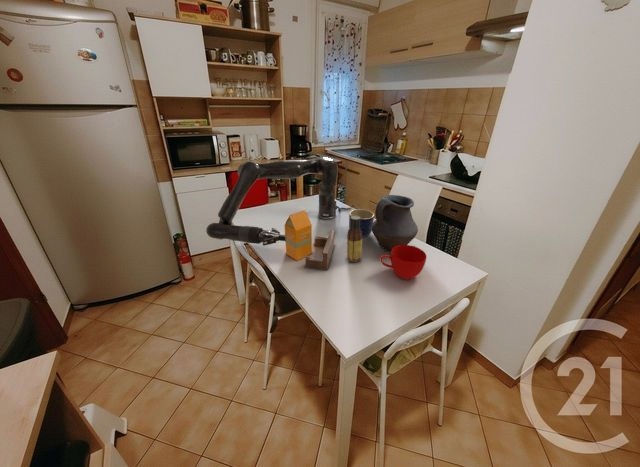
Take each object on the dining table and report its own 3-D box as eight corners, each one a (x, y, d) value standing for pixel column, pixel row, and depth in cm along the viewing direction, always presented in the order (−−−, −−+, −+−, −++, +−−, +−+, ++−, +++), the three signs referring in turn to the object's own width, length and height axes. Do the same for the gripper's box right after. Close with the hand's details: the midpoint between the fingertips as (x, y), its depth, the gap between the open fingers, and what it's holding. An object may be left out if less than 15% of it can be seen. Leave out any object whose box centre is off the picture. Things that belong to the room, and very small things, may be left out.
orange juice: (312, 253, 118) (311, 212, 109) (296, 260, 113) (295, 218, 104) (300, 246, 123) (299, 207, 114) (285, 253, 118) (283, 212, 109)
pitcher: (423, 250, 121) (434, 199, 110) (389, 264, 111) (397, 209, 99) (391, 232, 137) (398, 186, 125) (358, 243, 127) (362, 194, 115)
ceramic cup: (375, 264, 111) (378, 244, 106) (416, 265, 110) (420, 245, 106) (381, 284, 99) (384, 262, 95) (426, 285, 99) (431, 263, 94)
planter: (363, 226, 143) (365, 207, 138) (377, 236, 133) (379, 216, 128) (343, 230, 138) (344, 211, 133) (356, 241, 129) (358, 220, 123)
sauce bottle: (362, 256, 116) (366, 215, 107) (359, 264, 111) (363, 221, 101) (347, 253, 118) (350, 213, 108) (344, 261, 112) (347, 219, 103)
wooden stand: (305, 267, 109) (305, 251, 105) (315, 243, 126) (315, 229, 122) (327, 270, 107) (327, 253, 103) (334, 245, 124) (334, 230, 121)
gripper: (243, 233, 111) (282, 237, 108) (255, 221, 123) (291, 224, 120) (245, 249, 115) (283, 253, 112) (257, 235, 126) (292, 238, 123)
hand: (287, 238), depth 116 cm, fingers closed
